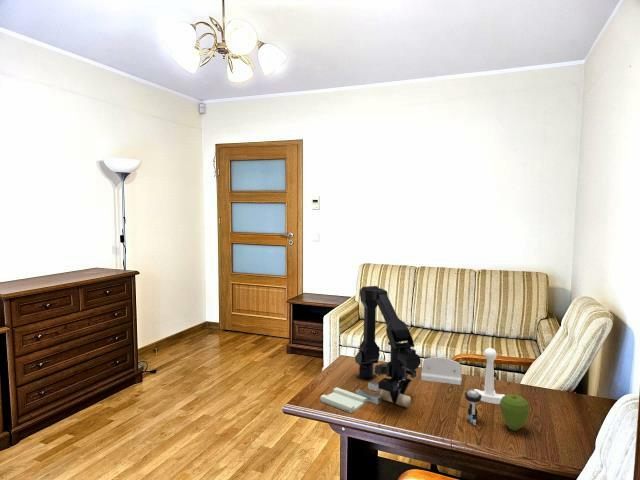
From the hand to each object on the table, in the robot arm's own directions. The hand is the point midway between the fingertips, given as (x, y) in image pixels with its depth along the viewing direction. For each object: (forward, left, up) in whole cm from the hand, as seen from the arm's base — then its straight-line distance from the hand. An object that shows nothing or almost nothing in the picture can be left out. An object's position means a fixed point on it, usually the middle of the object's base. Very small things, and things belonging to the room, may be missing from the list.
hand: (397, 400), depth 153 cm
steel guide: (0, -10, -1) cm, 10 cm away
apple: (-9, +38, -1) cm, 39 cm away
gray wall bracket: (-32, +4, -1) cm, 32 cm away
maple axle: (0, -2, -1) cm, 2 cm away
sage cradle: (+12, -16, -1) cm, 20 cm away
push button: (-5, +26, -1) cm, 27 cm away
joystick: (-26, +25, -1) cm, 36 cm away
